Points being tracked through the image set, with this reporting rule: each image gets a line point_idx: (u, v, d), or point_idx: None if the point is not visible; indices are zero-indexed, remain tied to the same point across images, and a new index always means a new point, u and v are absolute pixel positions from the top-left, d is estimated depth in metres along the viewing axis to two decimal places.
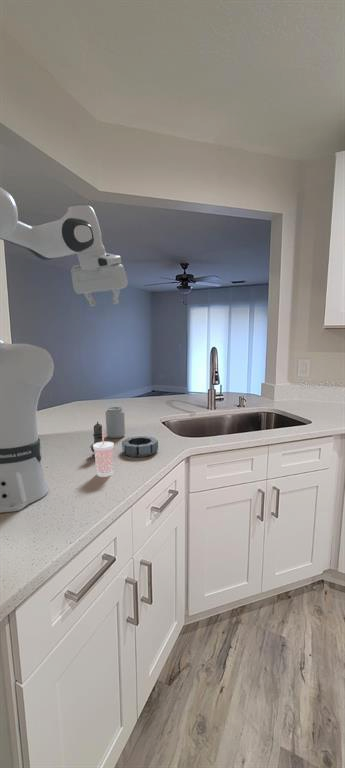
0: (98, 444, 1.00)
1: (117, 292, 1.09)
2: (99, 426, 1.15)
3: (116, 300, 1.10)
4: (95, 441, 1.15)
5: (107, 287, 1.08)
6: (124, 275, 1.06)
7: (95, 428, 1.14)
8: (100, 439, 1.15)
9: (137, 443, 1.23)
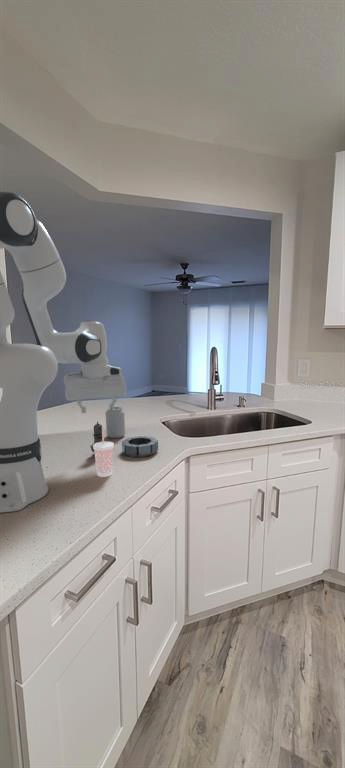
0: (98, 444, 1.00)
1: None
2: (99, 426, 1.15)
3: (113, 406, 1.17)
4: (95, 441, 1.15)
5: (110, 394, 1.14)
6: None
7: (95, 428, 1.14)
8: (100, 439, 1.15)
9: (137, 443, 1.23)
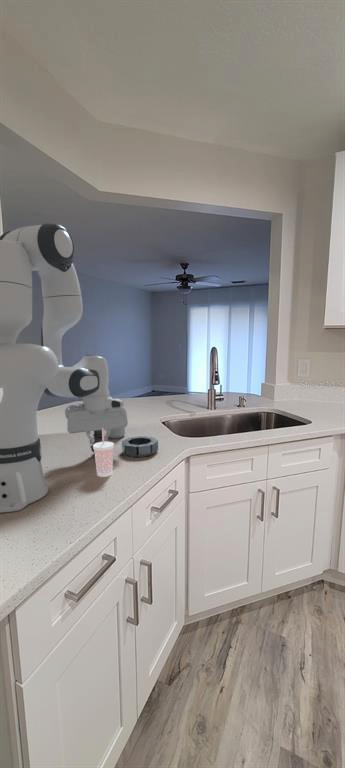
0: (98, 444, 1.00)
1: None
2: None
3: (107, 438, 1.17)
4: (95, 441, 1.15)
5: (111, 426, 1.15)
6: None
7: None
8: (100, 439, 1.15)
9: (137, 443, 1.23)
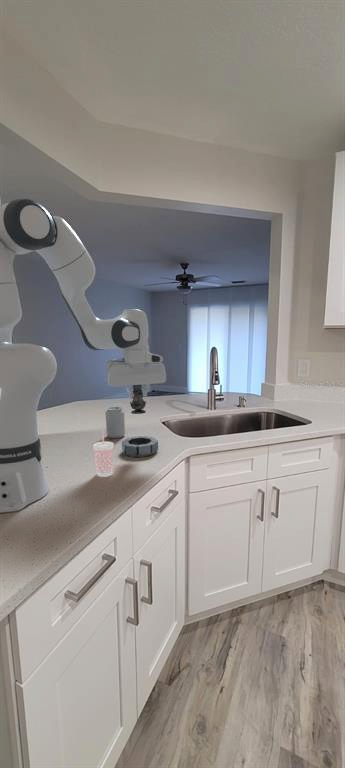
0: (98, 444, 1.00)
1: None
2: None
3: None
4: (135, 397, 1.16)
5: (150, 381, 1.16)
6: None
7: None
8: (140, 395, 1.16)
9: (137, 443, 1.23)
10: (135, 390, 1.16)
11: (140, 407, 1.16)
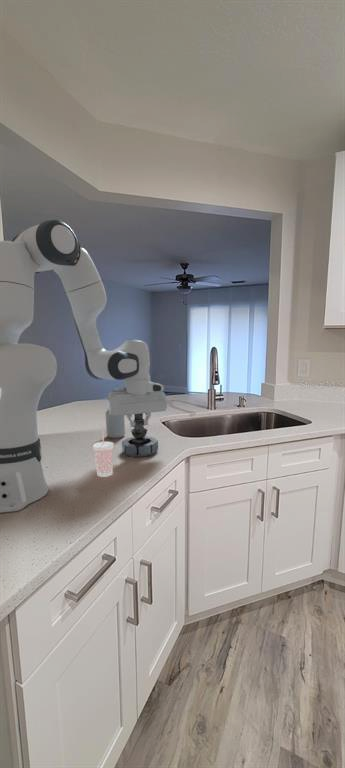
0: (98, 444, 1.00)
1: None
2: None
3: None
4: (136, 426, 1.18)
5: (151, 409, 1.18)
6: None
7: None
8: (141, 424, 1.18)
9: (137, 443, 1.23)
10: (136, 419, 1.17)
11: (141, 435, 1.17)
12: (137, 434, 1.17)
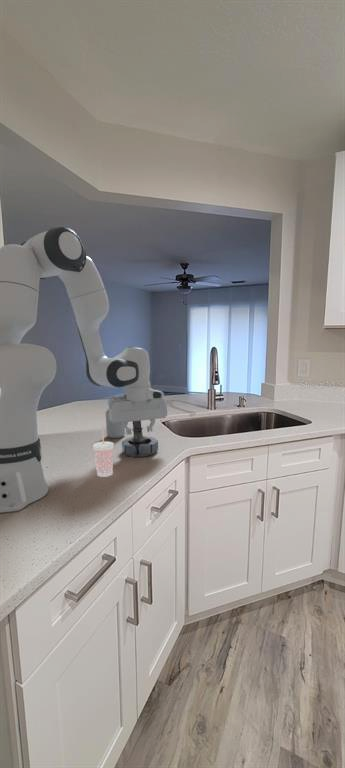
0: (98, 444, 1.00)
1: None
2: None
3: None
4: (135, 435, 1.18)
5: (152, 416, 1.18)
6: None
7: (134, 422, 1.17)
8: (140, 433, 1.18)
9: None
10: (135, 428, 1.17)
11: None
12: (136, 443, 1.17)
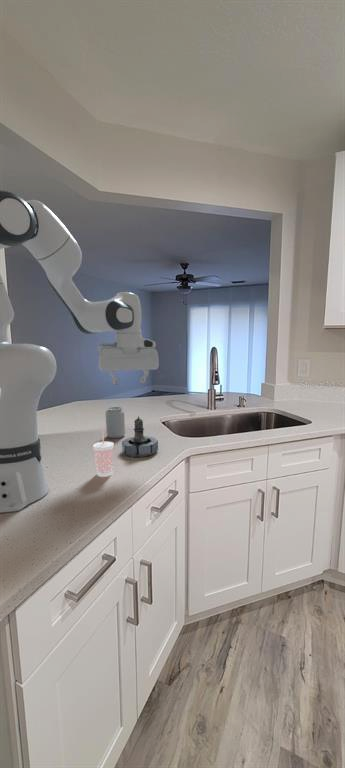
0: (98, 444, 1.00)
1: None
2: (140, 421, 1.17)
3: None
4: (136, 435, 1.18)
5: (142, 366, 1.14)
6: None
7: (136, 422, 1.17)
8: (141, 433, 1.18)
9: None
10: (136, 428, 1.17)
11: None
12: (137, 444, 1.17)
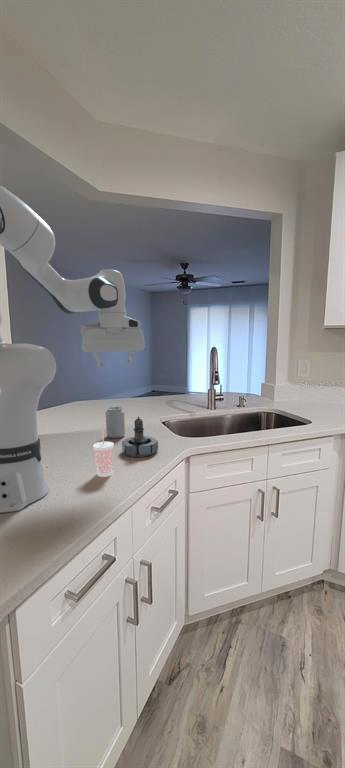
0: (98, 444, 1.00)
1: None
2: (140, 421, 1.17)
3: None
4: (136, 435, 1.18)
5: (128, 347, 1.10)
6: None
7: (136, 423, 1.17)
8: (141, 433, 1.18)
9: None
10: (136, 428, 1.17)
11: None
12: (137, 444, 1.17)
